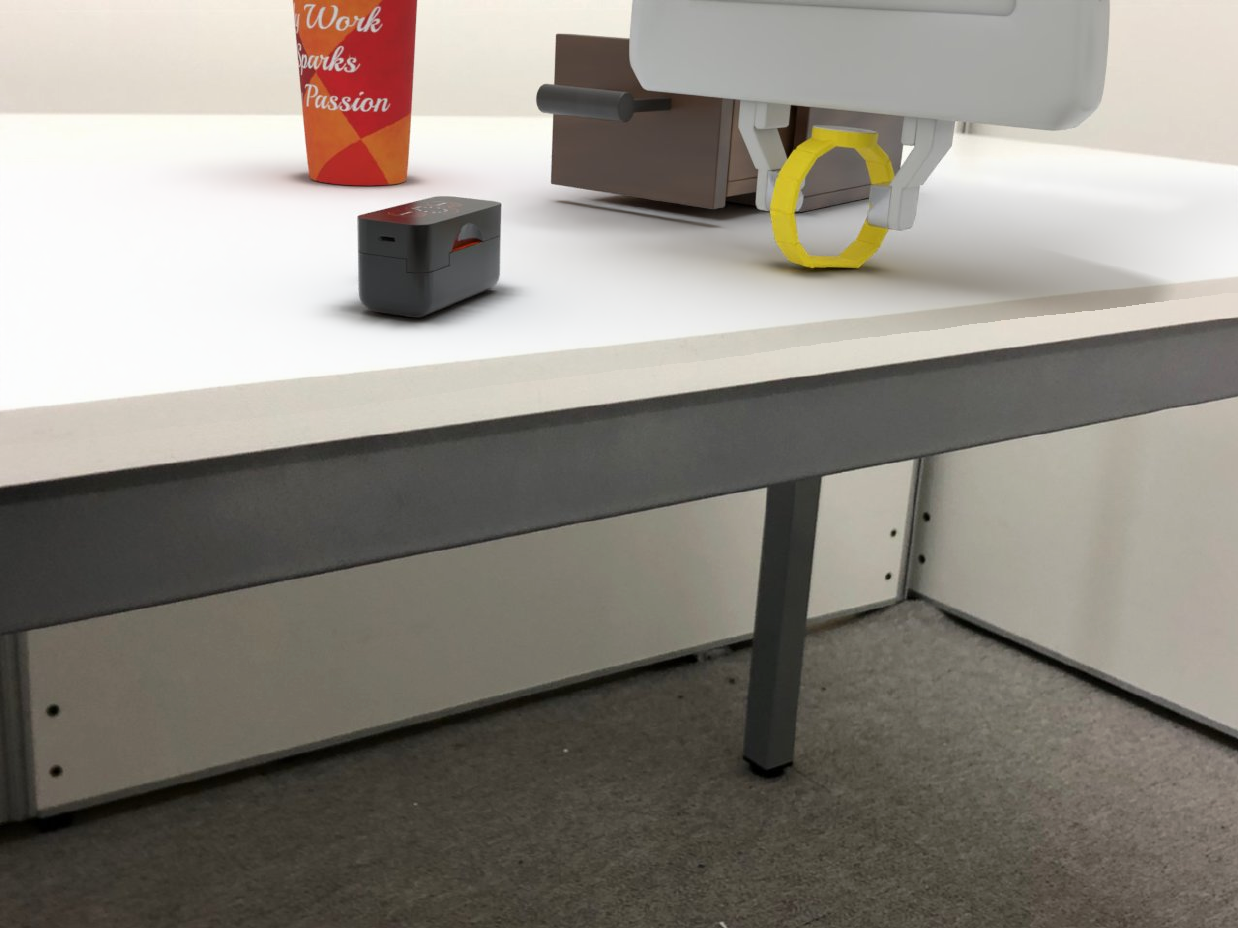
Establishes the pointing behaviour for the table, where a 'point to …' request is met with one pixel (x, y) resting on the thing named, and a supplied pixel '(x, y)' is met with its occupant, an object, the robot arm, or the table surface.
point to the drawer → (642, 131)
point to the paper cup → (356, 88)
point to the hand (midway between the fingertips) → (832, 219)
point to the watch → (791, 183)
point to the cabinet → (840, 157)
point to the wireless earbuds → (428, 254)
